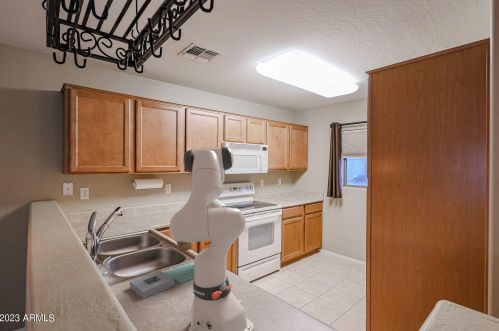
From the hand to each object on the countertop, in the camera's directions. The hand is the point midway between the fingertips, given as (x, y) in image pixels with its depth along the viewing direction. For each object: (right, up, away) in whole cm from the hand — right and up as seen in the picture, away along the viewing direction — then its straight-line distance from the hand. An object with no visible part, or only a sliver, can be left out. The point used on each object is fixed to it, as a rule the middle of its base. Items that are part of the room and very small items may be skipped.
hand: (182, 234), depth 120 cm
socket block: (-10, -20, -12) cm, 26 cm away
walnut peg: (+1, -8, +1) cm, 8 cm away
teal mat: (+1, -20, +1) cm, 20 cm away
